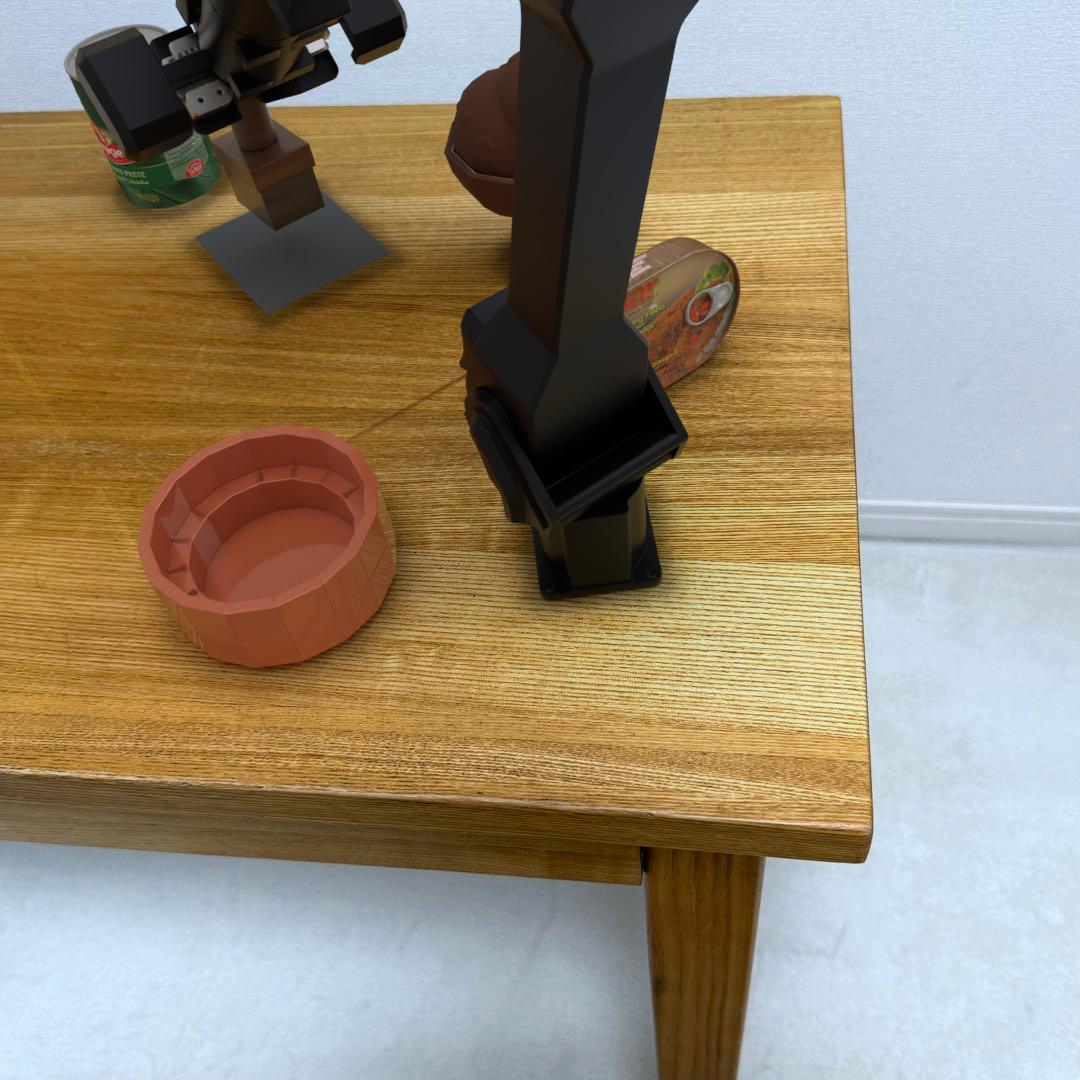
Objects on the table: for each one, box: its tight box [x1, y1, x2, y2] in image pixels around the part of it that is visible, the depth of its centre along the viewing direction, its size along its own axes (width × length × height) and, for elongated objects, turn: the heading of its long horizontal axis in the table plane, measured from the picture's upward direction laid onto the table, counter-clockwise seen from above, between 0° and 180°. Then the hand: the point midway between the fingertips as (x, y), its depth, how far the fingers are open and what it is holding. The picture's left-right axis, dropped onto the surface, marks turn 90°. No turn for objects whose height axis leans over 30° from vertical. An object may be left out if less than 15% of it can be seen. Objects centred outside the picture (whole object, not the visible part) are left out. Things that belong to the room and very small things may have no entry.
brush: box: [191, 23, 325, 231], centre depth 69 cm, size 6×4×14 cm
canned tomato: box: [63, 23, 222, 210], centre depth 81 cm, size 8×8×11 cm
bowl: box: [136, 424, 398, 669], centre depth 57 cm, size 12×12×6 cm
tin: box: [624, 236, 741, 390], centre depth 63 cm, size 15×3×8 cm, turn 126°
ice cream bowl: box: [443, 50, 520, 262], centre depth 69 cm, size 11×11×15 cm
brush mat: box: [195, 189, 392, 316], centre depth 78 cm, size 12×10×1 cm
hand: (237, 105), depth 71 cm, fingers closed on brush, 2 cm apart
